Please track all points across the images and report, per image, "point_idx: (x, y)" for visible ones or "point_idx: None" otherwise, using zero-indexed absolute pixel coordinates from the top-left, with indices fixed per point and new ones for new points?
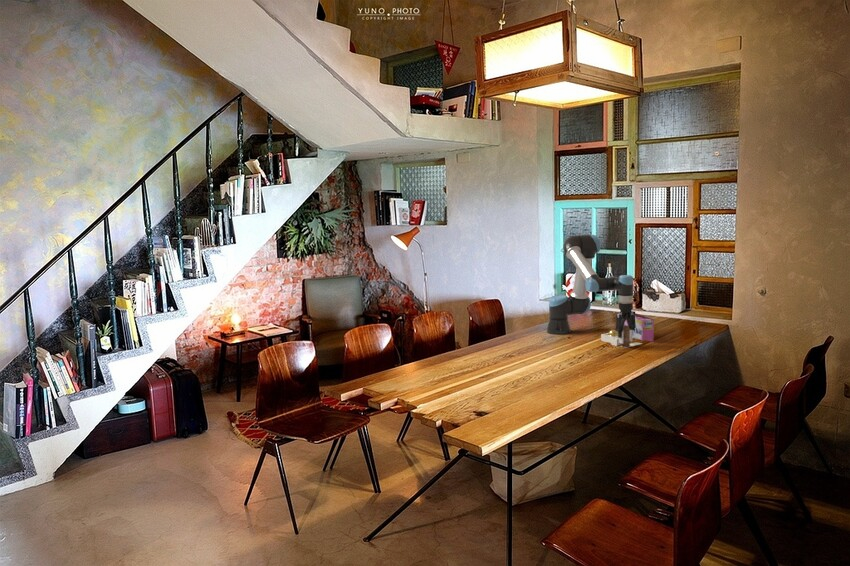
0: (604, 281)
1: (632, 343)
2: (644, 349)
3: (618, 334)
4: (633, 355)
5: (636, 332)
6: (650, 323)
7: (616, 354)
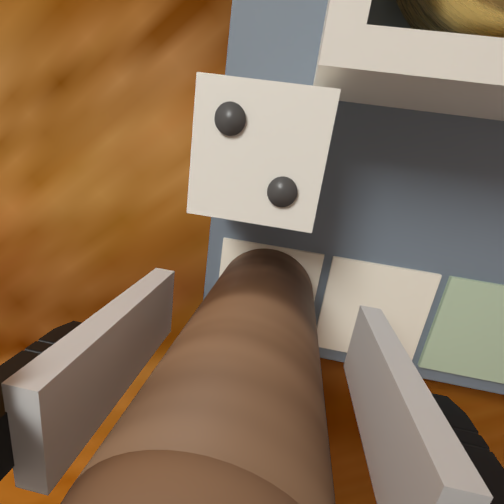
0: None
1: (460, 290)
2: (354, 428)
3: (15, 360)
4: (108, 430)
5: None
6: None
7: (30, 319)
